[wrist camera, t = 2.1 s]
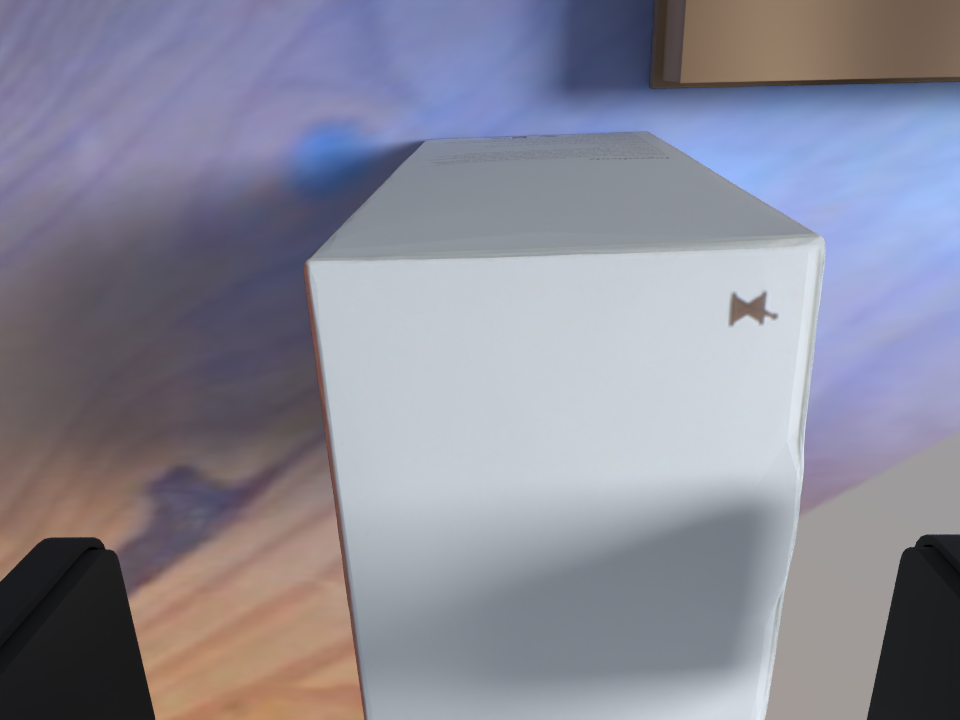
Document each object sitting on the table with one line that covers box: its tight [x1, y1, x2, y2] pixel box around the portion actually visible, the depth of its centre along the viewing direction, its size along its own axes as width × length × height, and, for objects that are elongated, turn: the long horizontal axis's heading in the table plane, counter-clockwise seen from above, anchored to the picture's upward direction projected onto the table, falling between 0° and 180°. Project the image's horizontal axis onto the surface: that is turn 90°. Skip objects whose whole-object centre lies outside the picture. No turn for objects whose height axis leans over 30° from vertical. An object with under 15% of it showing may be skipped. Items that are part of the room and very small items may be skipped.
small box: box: [303, 132, 826, 720], centre depth 16 cm, size 8×6×13 cm
